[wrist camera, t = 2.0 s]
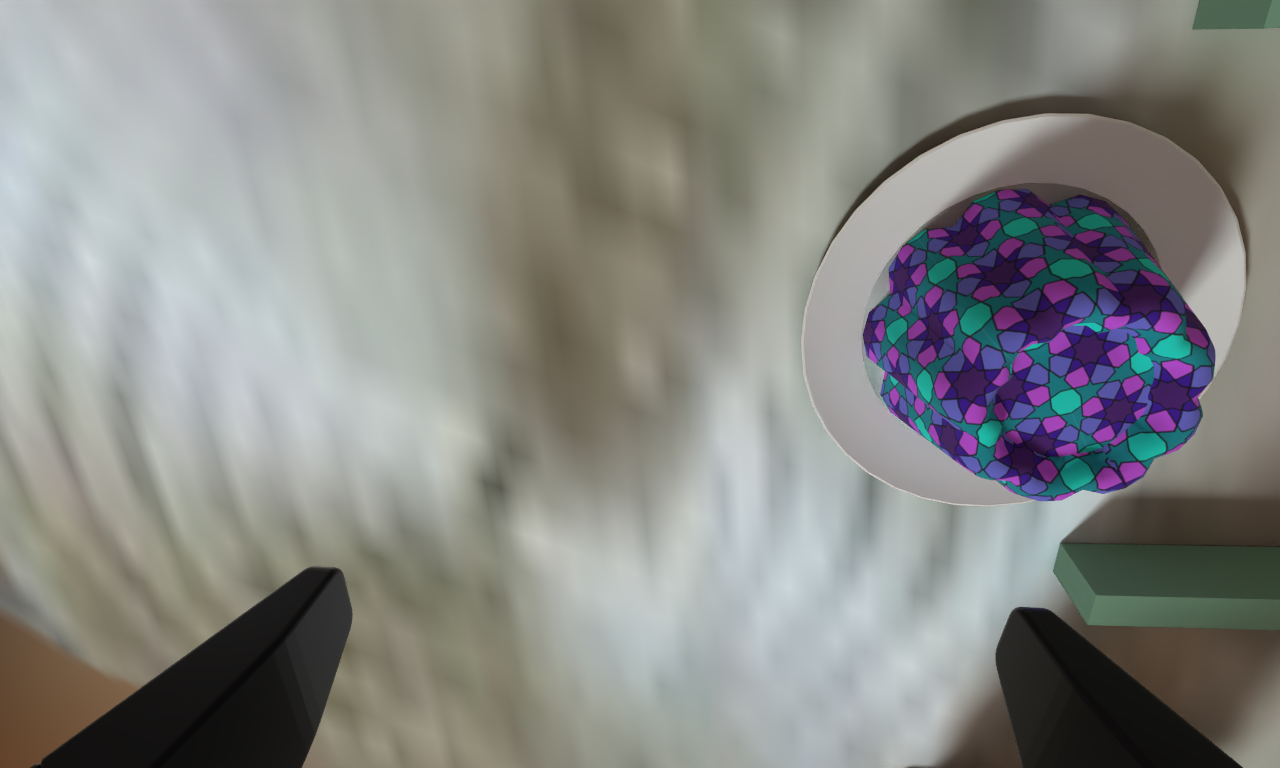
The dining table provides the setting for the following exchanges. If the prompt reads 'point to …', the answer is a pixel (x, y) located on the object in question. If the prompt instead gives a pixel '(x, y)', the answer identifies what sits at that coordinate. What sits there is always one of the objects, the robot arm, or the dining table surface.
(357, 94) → the dining table surface
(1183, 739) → the robot arm
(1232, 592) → the frame
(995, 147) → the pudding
